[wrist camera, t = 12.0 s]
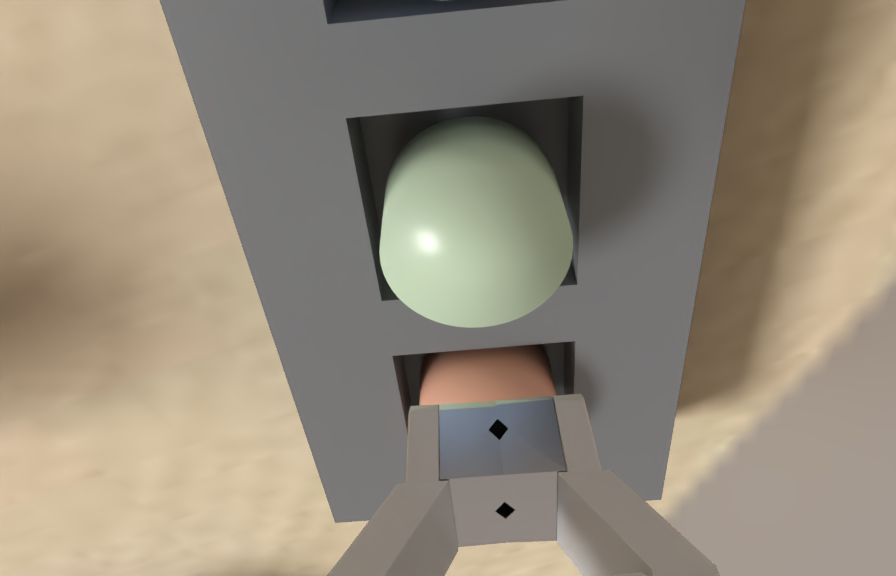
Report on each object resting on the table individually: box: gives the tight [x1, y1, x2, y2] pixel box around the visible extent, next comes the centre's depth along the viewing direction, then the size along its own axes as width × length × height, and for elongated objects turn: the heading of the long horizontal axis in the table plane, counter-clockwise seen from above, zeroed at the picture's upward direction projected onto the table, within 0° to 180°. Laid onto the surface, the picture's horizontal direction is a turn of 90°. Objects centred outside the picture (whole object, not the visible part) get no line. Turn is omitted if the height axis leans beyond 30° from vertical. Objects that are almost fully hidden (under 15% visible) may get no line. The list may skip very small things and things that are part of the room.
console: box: [160, 0, 746, 523], centre depth 19 cm, size 26×12×4 cm, turn 5°
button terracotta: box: [419, 344, 557, 405], centre depth 22 cm, size 4×4×3 cm
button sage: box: [379, 116, 573, 328], centre depth 17 cm, size 4×4×3 cm
